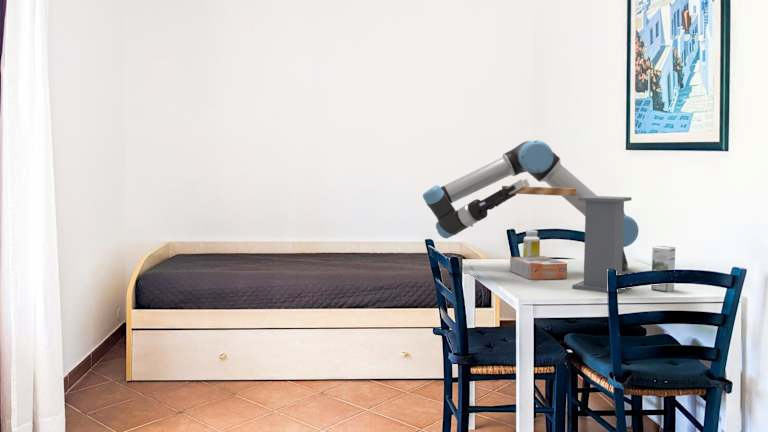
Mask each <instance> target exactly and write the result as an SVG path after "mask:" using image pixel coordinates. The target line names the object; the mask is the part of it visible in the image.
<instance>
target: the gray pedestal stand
mask: <svg viewBox="0 0 768 432" xmlns="http://www.w3.org/2000/svg"><path fill="white" fill-rule="evenodd" d="M578 200H580V201H586V213H585V216H584V217H585V218H584V219H585V220H584V222H585V223H584V252H583V253H584V255H583V257H584V258H583V259H584V260H583V280H581V281H579V282H577V283H574V284H572V285H571V289H572V290H573V289H575V290H583V291H593V292H603V293H608V292H607V269H608V268H616V271H617V275H619V274H622V275H623V270H622V253H623V220H624V214H625V202H629V201H632V197H631V196H630V197H628V196H609V195H607V196H603V195H601V196H600V195H597V196H586V197H578ZM628 290H631V288H625V289H618V293H617V294H622V293H624V292H627V291H628Z"/></svg>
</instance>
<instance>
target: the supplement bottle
mask: <svg viewBox="0 0 768 432" xmlns="http://www.w3.org/2000/svg"><path fill="white" fill-rule="evenodd" d="M525 234H526V236H524V237H523V248H522V249H523V250H522V251H523V252H522V253H523V255H522V257H532V256H541V254H540V253H541V252H540V251H541V250H540V249H541V248H540V247H541V245H540V243H541V239H540V237H538V230H533V229H532V230H531V229H530V230H525Z"/></svg>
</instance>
